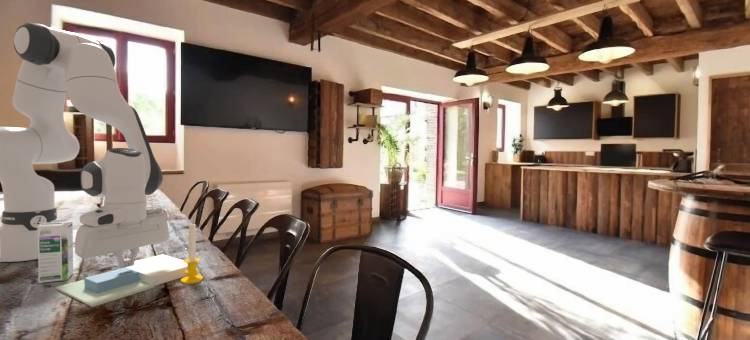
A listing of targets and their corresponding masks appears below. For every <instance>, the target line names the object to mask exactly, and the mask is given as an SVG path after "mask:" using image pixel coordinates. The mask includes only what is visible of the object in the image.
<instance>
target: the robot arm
mask: <svg viewBox="0 0 750 340" xmlns="http://www.w3.org/2000/svg"><path fill="white" fill-rule="evenodd" d="M13 47H14V51H15V53H16V54H17V55H18V56H19V57H20V59H22V61H21V65H20V67H19V70H18V72H17V73H18V74H17V77H16V82H15V85H14V87H15V88H14V90H13V95H12V100H11V103H12V106H13V108H14V109H15V110H16V111H17V112H18V113H19V114H21V115H23V116H24V117H27V118H28V119H29V122H30V123H29V126H28V127H19V126H17V127H16V126H0V185H1V188H2V194H3V195H2V197H3V207H4V209H3V211H2V213H1V226H0V263H5V262H7V263H13V262H24V261H25V262H26V261H33V260H38V237H37V227H38V226H39V225H40V224H42V223H47V222H58V221H57V219H58V209H57V207H55V206H56V205H55V204H56V203H55V201H56V200H55V198H56V197H55V185H54V183H53V182H52V181H51V180H49V179H48V178H46V177H44V176H41V175H38V174H37V172H36V171H35V169H34V165H43V164H44V165H48V164H49V165H51V164H53V165H54V164H60V163H61V164H62V163H65V162H70V161H72V160H74V159H76V158H77V156H78V155H79V153H80V142H79V139H78V138H77V137H76V136H75V134H73V133H72V132H71V131H70V130H69V129H68V127H67V126H66V123H65V119H64V113H65V112H64V111H65V105H66V101H67V96H68V99H69V101H70V103H71V105H72V106H73V107H74V108H75V109H76V111H79V112H80V113H81V114H83V115H85V116H87V117H88V118H91V119H94V120H95V121H99V122H102V123H104V124H106V125H109V126H111V127H113V128H114V129H116V130H117V131H118V132H120V133H121V134H122V135H123V137H124V139H125V142H126V145H127V148H126V147H113V148H109V149H107V150H106V152H105V154H104V156H103V157H101V158H99V159H97V160H94V161H90V162H88V163H87V164H85V165H84V167H83V168H82V169H81V170H80V174H79V176H80V177H79V180H80V182H79V183H80V188H81V190H82V191H83V192H85V193H86V195H89V196H91V197H94V198H95V197H96V198H104V201H103V206H101V207H98V208H96V209H93V210H91V211H88V212H86V213H83V214H81V215H80V216H79V223H81V224H82V225H81V226H79V227H78V229H77V231H76V234H75V240H74V253H75V255H77V257H79V258H82V259H84V260H85V259H90V258H96V257H100V256H104V255H105V256H106V255H109V254H112V256H113V257H114V258H115V259H116V260H117V262H118V263H117V264H118V265H117V268H118V267H119V268H125V267H129V266H133V265H134V261H135V259H136V258H137V255H138V254H139V253H140V248H142V247H148V246H151V245H156V244H157V245H158V244H162V243H166V242H167V241H168V240H169V238H170V232H169V230H170V229H169V226H168V212H167V211H166V210H165V209H162V208H156V209H147V207H148V206H147V205H148V204H147V203H148V199H147V196H150V195H153V194H154V193H155V192H156V191H157V190H158V189H159V188H160V187H161V185H162V183H163V181H164V175H163V172H162V169H161V166H160V165H159V164H158V162H157V160H156V158H155V156H154V153H153V150H152V147H151V145H150V142H149V139H148V136H147V134H146V130H145V129H144V125H143V123H142V121H141V118H140V116H139V113H138V112H137V110H136V109H135V108H134V107H133V106H132V105H130V104H129V103H128V102H127V100H126V99H125V98H124V96H123V94H122V93H121V90H120V86H119V83H118V77H117V74H116V70H115V65H116V56H115V53H114V51H113V48H111V47H110V46H109V45H107V44H105V43H103V42H101V41H99V40H94V39H92V38H89V37H86V36H84V35H82V34H79V33H77V32H72V31H66V30H62V29H59V28H54V27H49V26H46V25H45V24H42V23H41V24H40V23H33V22H26V23H23V24H21V25H19V27H18V28H17V29H16V30H15V33H14V36H13ZM125 251H129V252H130V253H129V255H128V257H127V258H123V257H122V256H123V255H124V252H125Z"/></svg>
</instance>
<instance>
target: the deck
mask: <svg viewBox="0 0 750 340" xmlns="http://www.w3.org/2000/svg"><path fill="white" fill-rule="evenodd" d="M184 260H185V259H182V258H177V257H175V256H170V255H167V254H164V253H161V254H159V255H154V256H148V257H145V258H141V259H136V260H134V265H133V266H129V267H126V268H129V269H132V270H135V271H137V272H138V275H139V280H141V281H143V282H146V283H149V284H151V285H154V287H155V286H158V285H162V284H165V283H168V282H171V281H174V280H177V279H182V278H183V277H185V276H188V275H187V274H185V271H187V270H188V269H187V266H188V264H187V263H185V262H184ZM117 269H121V268H119V267H118V266H117Z"/></svg>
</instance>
